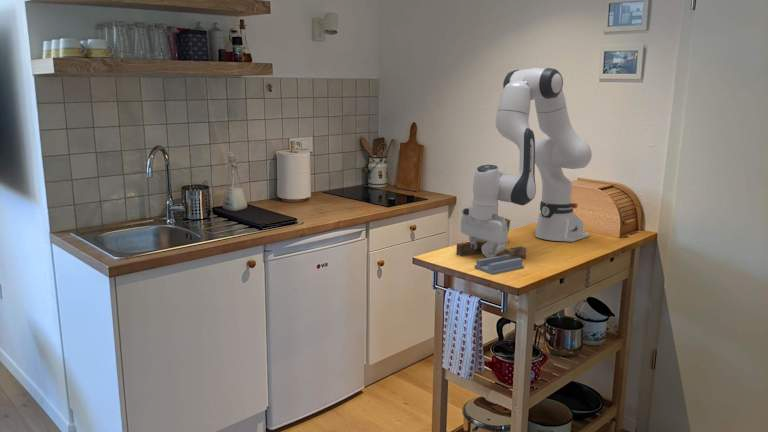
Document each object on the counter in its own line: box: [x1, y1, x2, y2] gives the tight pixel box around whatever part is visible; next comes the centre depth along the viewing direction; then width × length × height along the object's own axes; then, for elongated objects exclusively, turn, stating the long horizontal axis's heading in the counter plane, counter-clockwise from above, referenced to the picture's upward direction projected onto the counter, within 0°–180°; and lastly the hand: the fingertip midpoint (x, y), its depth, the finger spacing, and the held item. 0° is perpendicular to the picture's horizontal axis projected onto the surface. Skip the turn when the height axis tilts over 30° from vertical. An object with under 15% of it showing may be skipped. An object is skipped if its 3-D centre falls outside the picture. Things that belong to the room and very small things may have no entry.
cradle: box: [474, 254, 525, 276], centre depth 202 cm, size 14×8×3 cm, turn 124°
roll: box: [481, 241, 507, 258], centre depth 220 cm, size 6×12×6 cm, turn 148°
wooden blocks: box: [455, 240, 527, 261], centre depth 216 cm, size 17×17×4 cm
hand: (482, 251), depth 214 cm, fingers open, 8 cm apart
